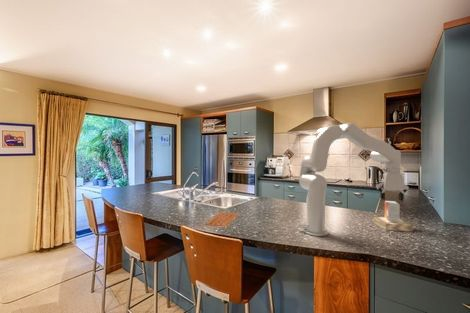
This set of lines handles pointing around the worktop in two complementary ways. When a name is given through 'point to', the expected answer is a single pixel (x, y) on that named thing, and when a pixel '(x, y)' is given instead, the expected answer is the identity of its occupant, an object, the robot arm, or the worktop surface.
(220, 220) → the wooden cutting board
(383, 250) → the worktop surface
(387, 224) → the maple plinth
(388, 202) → the small box
